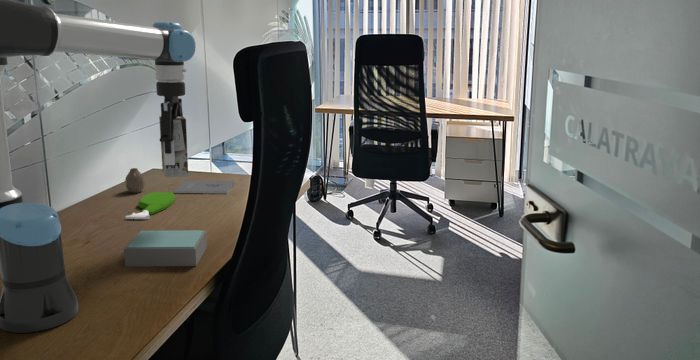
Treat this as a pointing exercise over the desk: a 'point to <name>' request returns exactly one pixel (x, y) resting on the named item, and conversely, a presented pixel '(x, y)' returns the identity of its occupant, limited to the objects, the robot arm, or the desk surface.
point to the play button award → (205, 187)
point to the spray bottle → (153, 204)
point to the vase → (134, 181)
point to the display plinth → (166, 248)
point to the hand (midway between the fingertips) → (174, 160)
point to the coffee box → (177, 150)
